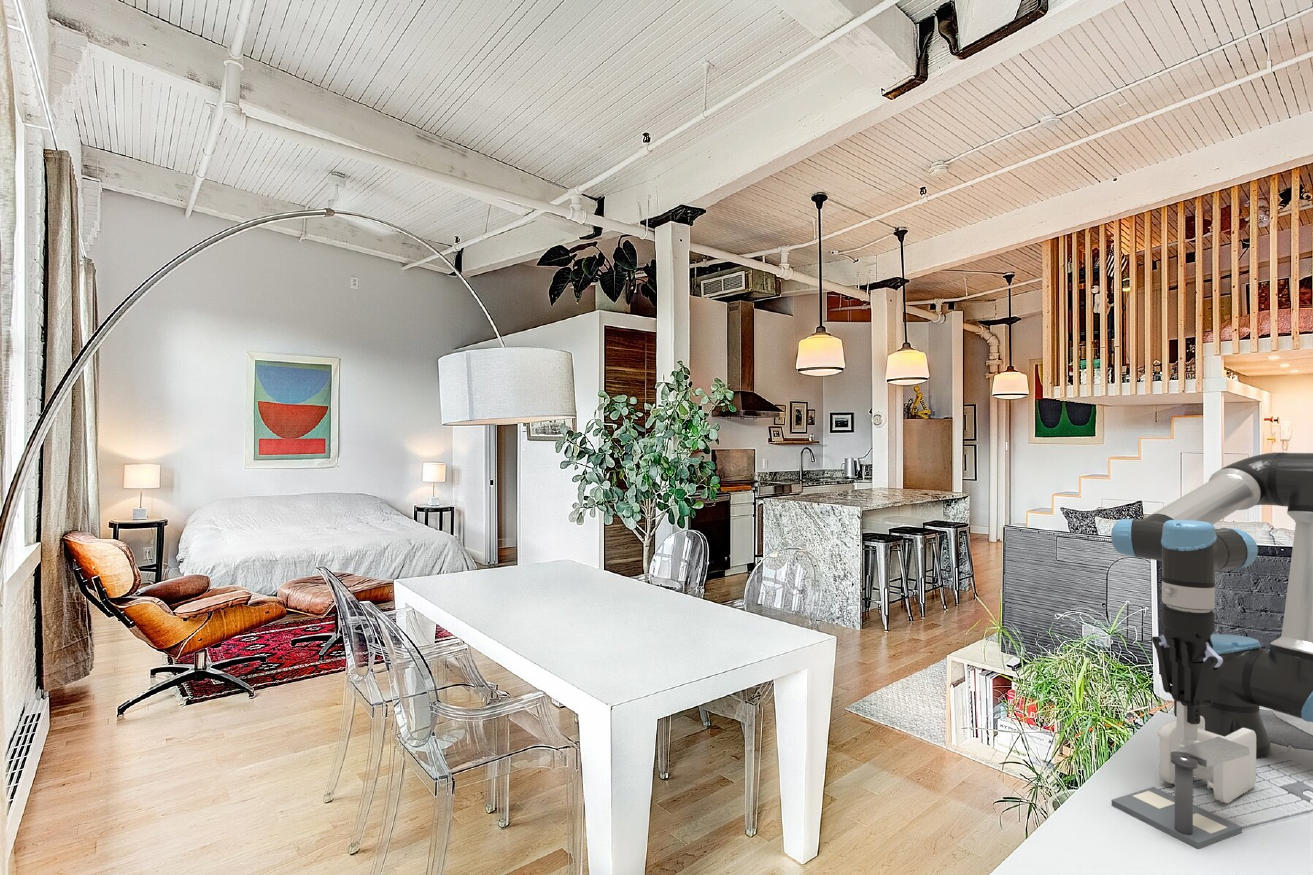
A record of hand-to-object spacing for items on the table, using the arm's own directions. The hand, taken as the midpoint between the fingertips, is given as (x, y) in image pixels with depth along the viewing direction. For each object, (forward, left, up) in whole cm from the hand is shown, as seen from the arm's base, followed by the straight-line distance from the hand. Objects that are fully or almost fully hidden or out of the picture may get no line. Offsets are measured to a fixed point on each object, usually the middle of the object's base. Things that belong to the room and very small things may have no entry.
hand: (1186, 738), depth 121 cm
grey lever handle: (+3, +5, -1) cm, 6 cm away
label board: (+4, +1, -13) cm, 14 cm away
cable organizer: (-13, -4, -13) cm, 19 cm away
